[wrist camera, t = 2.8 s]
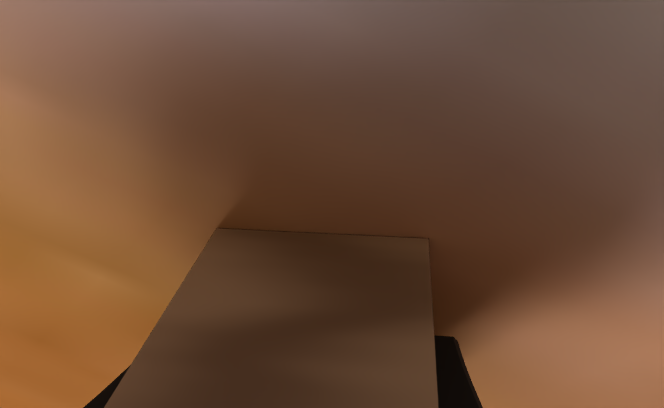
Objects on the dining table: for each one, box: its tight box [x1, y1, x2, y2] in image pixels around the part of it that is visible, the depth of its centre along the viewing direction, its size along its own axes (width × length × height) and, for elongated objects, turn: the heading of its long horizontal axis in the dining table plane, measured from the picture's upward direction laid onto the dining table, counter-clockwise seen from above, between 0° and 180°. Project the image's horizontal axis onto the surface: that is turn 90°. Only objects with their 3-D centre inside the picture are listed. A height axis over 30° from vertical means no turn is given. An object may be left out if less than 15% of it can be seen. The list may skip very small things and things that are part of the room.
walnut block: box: [104, 228, 438, 408], centre depth 10 cm, size 5×5×5 cm
